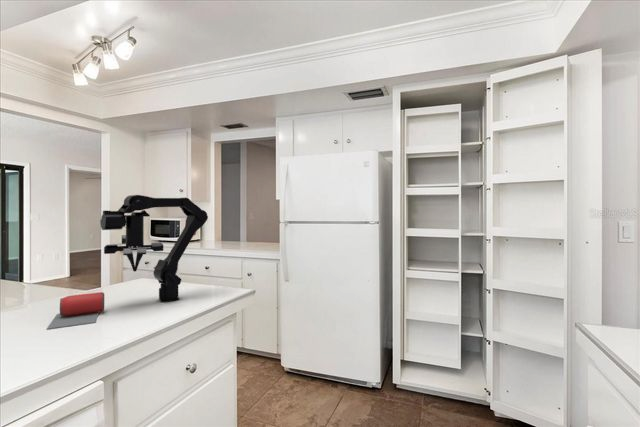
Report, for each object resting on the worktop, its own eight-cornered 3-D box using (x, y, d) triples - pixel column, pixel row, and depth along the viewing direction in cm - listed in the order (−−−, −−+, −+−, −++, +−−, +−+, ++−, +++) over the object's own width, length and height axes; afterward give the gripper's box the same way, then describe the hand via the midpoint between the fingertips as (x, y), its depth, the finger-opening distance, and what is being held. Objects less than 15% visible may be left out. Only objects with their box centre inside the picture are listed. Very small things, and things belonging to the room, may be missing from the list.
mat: (99, 309, 117) (99, 308, 117) (95, 322, 103) (95, 321, 103) (57, 314, 111) (57, 313, 111) (46, 329, 97) (46, 328, 97)
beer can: (104, 289, 113) (60, 294, 107) (104, 308, 110) (58, 314, 104) (104, 295, 118) (62, 299, 111) (104, 313, 115) (61, 319, 109)
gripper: (161, 227, 132) (161, 266, 132) (106, 228, 123) (106, 270, 123) (163, 228, 122) (163, 270, 122) (103, 230, 113) (104, 275, 113)
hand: (134, 271), depth 120 cm, fingers closed
